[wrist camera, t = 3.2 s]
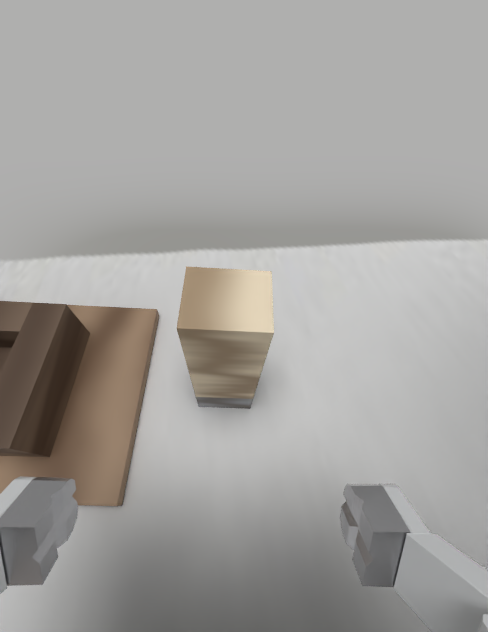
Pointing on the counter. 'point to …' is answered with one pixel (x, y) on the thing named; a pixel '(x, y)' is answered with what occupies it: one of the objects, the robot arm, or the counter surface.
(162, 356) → the counter surface
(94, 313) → the square hole base plate
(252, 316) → the upright wooden square peg
